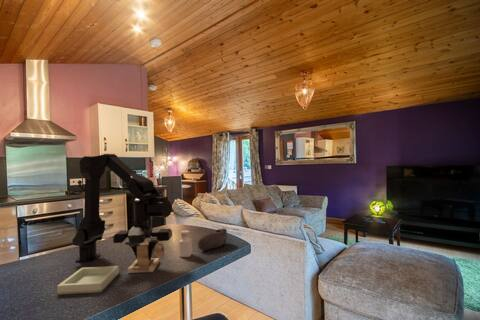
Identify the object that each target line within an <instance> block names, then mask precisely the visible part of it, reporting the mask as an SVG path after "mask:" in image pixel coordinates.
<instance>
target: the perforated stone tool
mask: <svg viewBox="0 0 480 320" xmlns="http://www.w3.org/2000/svg"><path fill="white" fill-rule="evenodd" d="M227 239H228V235H227V229H226V228H225V227H224V228H221V229H219V228H218V229H216V230H213V231H210V232H208V233H206V234H205V235H203V236H202V237H201V238H200V239H199V240H198V243H197V246H198V249H199V250H201V251H209V250H213V248H214V249H217V248H220V247H222V246H224V245H226V242H227Z"/></svg>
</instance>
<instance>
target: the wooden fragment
mask: <svg viewBox="0 0 480 320" xmlns="http://www.w3.org/2000/svg"><path fill="white" fill-rule="evenodd" d="M149 242H150V241H148V240H145V241H144V242H143V243H149ZM164 255H165V254H164V245H163V244H162V243H159V242H158V243H156V246H155V248H154V251H153V254H152V257H151V258H159V259H164V258H165V256H164Z"/></svg>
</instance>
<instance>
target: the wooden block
mask: <svg viewBox="0 0 480 320" xmlns="http://www.w3.org/2000/svg"><path fill="white" fill-rule="evenodd" d="M136 259H137V266H150V265H151V260H149V244H148V243H140V244H139V245H138V246H137V258H136Z"/></svg>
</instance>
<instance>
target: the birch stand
mask: <svg viewBox="0 0 480 320" xmlns="http://www.w3.org/2000/svg"><path fill="white" fill-rule="evenodd" d="M159 263H160V258H157V257H151V265H150V266H137V258H136V259H135V260H134V262H132V264H130V266H128V268H127V273H128V274H132V273H133V274H134V273H136V274H138V273H153V272H154V270H155V269H156V268H157V266H158V265H159Z"/></svg>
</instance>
